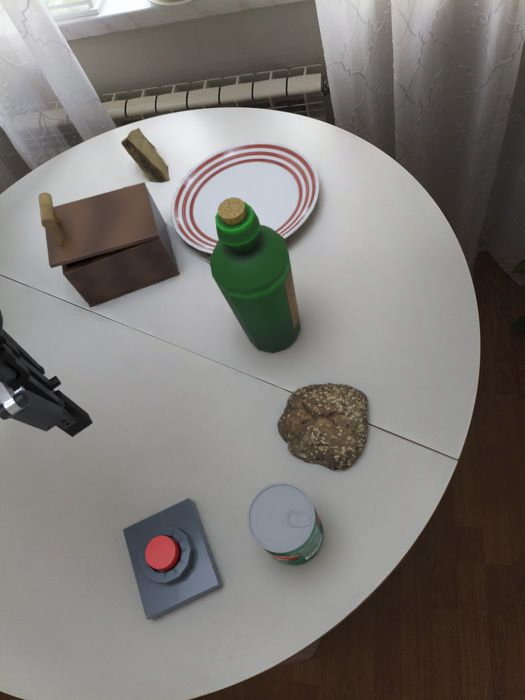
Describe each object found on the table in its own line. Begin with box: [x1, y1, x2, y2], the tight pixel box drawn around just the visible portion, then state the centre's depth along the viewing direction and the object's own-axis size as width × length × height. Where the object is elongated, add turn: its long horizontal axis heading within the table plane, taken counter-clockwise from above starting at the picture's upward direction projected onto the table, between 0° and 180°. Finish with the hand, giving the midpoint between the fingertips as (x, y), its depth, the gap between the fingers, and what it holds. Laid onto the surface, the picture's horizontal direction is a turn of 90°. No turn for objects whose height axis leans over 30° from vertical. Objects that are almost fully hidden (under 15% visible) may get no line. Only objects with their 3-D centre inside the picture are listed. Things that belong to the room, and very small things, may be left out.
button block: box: [122, 497, 224, 621], centre depth 72 cm, size 12×10×4 cm
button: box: [145, 536, 180, 571], centre depth 70 cm, size 4×4×2 cm
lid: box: [37, 182, 159, 269], centre depth 89 cm, size 18×13×7 cm
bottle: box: [208, 197, 301, 353], centre depth 76 cm, size 11×11×28 cm
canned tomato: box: [246, 482, 325, 567], centre depth 68 cm, size 8×8×11 cm
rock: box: [120, 127, 171, 183], centre depth 110 cm, size 11×9×10 cm
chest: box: [61, 186, 180, 308], centre depth 97 cm, size 17×13×10 cm
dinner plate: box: [170, 141, 320, 255], centre depth 101 cm, size 27×27×3 cm
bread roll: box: [276, 382, 369, 471], centre depth 77 cm, size 13×12×5 cm
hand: (80, 425), depth 62 cm, fingers closed
